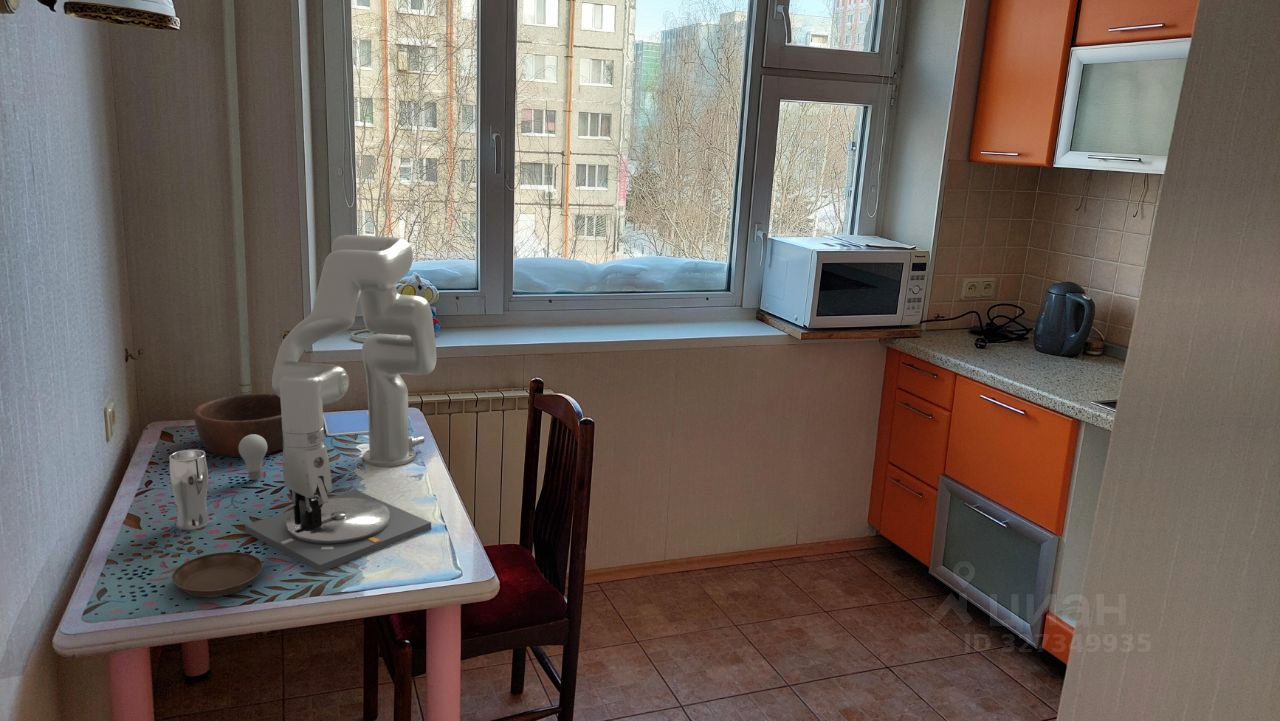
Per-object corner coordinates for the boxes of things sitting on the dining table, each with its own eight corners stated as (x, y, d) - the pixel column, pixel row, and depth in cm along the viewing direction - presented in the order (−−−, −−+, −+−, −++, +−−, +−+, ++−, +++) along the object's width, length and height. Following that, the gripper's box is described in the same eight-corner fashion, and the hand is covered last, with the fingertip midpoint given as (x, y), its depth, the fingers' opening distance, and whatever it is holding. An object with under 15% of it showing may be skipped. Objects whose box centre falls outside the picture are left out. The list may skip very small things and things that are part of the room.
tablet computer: (322, 417, 259) (322, 413, 258) (368, 414, 264) (368, 409, 263) (327, 439, 242) (326, 434, 241) (376, 435, 246) (376, 430, 246)
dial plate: (355, 495, 204) (354, 488, 204) (431, 529, 189) (431, 521, 189) (245, 531, 184) (244, 524, 184) (320, 572, 169) (319, 564, 169)
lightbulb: (275, 478, 212) (272, 433, 210) (254, 487, 207) (251, 441, 204) (255, 473, 215) (253, 429, 212) (234, 482, 209) (231, 436, 207)
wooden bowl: (301, 426, 249) (300, 390, 247) (303, 457, 227) (301, 417, 224) (200, 433, 241) (197, 396, 238) (191, 466, 218) (188, 425, 215)
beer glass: (175, 519, 189) (169, 450, 185) (212, 515, 191) (207, 447, 188) (173, 533, 183) (166, 462, 179) (211, 528, 185) (206, 458, 182)
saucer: (281, 575, 168) (280, 562, 167) (215, 612, 155) (214, 597, 154) (222, 558, 174) (221, 545, 173) (153, 591, 161) (152, 577, 160)
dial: (349, 495, 200) (348, 464, 198) (410, 520, 189) (409, 487, 187) (266, 524, 184) (263, 490, 182) (326, 553, 173) (325, 517, 171)
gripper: (345, 442, 174) (349, 531, 178) (297, 423, 184) (302, 508, 188) (310, 452, 168) (314, 544, 173) (262, 431, 178) (268, 519, 182)
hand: (308, 524), depth 180 cm, fingers closed on dial, 3 cm apart
